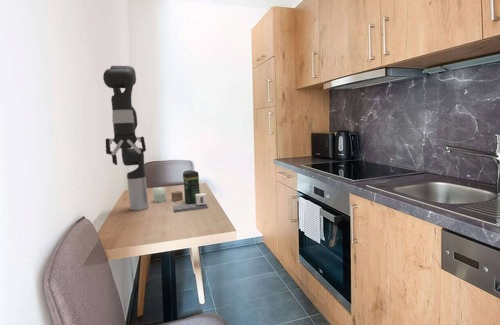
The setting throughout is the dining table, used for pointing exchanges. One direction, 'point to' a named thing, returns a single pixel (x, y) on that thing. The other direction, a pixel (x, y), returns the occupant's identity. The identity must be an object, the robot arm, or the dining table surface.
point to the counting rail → (188, 207)
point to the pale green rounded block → (159, 194)
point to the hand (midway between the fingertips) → (127, 163)
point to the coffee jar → (191, 186)
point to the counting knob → (201, 199)
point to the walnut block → (177, 196)
